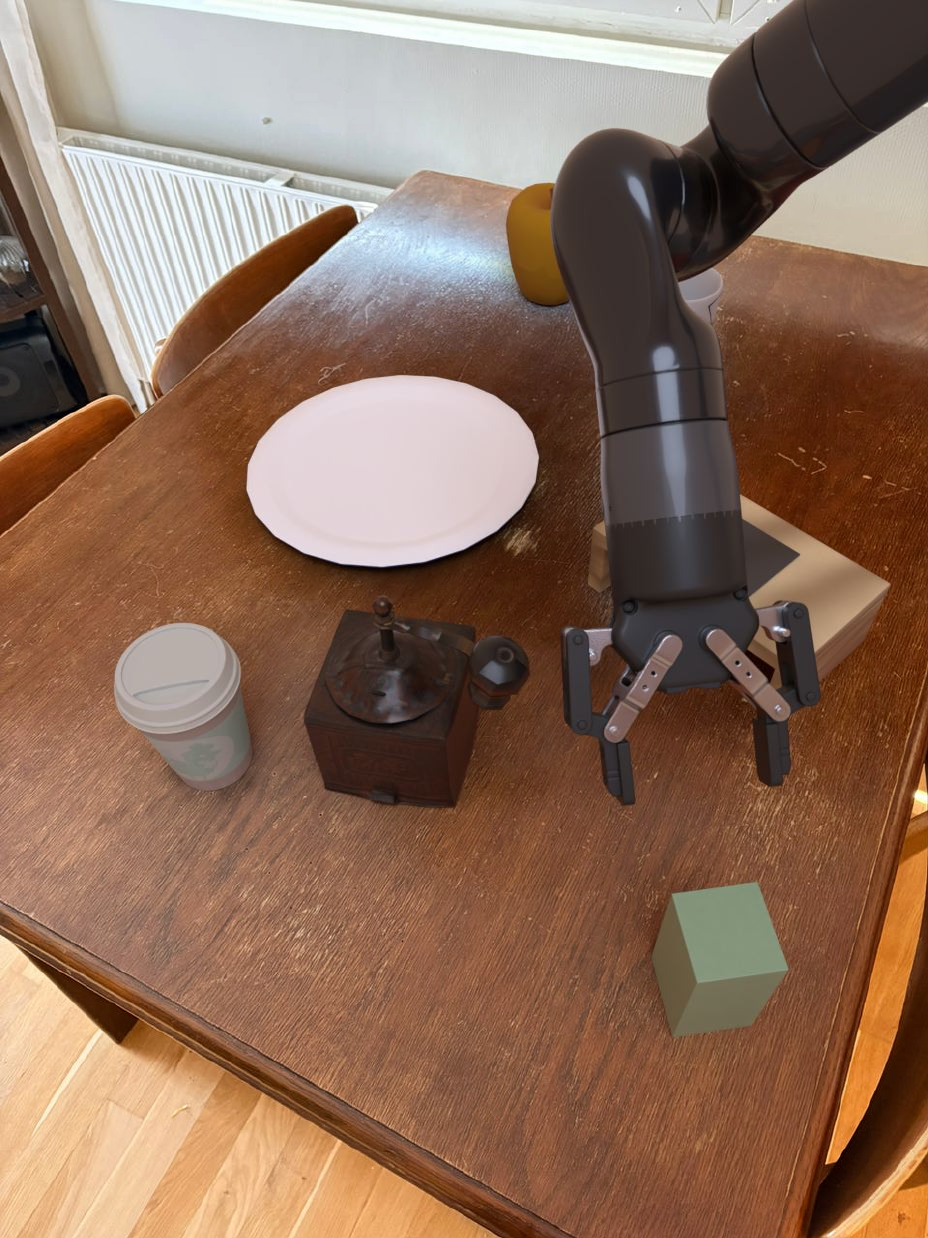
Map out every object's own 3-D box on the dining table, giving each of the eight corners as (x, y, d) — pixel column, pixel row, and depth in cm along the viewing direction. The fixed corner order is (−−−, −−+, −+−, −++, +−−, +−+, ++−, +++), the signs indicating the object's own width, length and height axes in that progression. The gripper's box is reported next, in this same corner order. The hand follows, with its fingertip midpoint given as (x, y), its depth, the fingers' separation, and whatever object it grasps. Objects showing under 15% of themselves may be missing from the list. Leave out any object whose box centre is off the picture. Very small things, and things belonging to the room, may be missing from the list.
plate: (578, 539, 83) (579, 526, 82) (265, 607, 79) (261, 594, 78) (494, 366, 102) (493, 352, 100) (237, 414, 98) (233, 401, 97)
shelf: (864, 640, 74) (892, 581, 69) (775, 723, 69) (797, 667, 64) (676, 519, 84) (687, 460, 79) (587, 584, 79) (592, 525, 74)
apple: (607, 280, 113) (616, 175, 103) (576, 324, 106) (582, 217, 97) (526, 265, 116) (527, 162, 106) (492, 307, 110) (489, 201, 100)
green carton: (726, 946, 58) (757, 881, 51) (751, 1026, 55) (789, 970, 48) (650, 956, 58) (671, 893, 51) (671, 1038, 55) (697, 983, 47)
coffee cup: (138, 788, 68) (79, 697, 59) (197, 701, 73) (151, 604, 64) (236, 822, 66) (191, 732, 57) (290, 729, 71) (256, 633, 62)
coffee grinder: (317, 797, 67) (266, 648, 53) (357, 679, 74) (322, 520, 60) (523, 831, 64) (525, 684, 51) (545, 706, 71) (552, 546, 57)
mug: (717, 400, 96) (735, 316, 88) (638, 402, 96) (648, 318, 88) (701, 340, 103) (716, 257, 95) (627, 342, 103) (636, 260, 96)
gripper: (557, 524, 46) (589, 829, 48) (825, 493, 47) (850, 794, 48) (537, 528, 54) (566, 791, 55) (768, 501, 54) (791, 762, 56)
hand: (698, 792), depth 52 cm, fingers open, 8 cm apart
